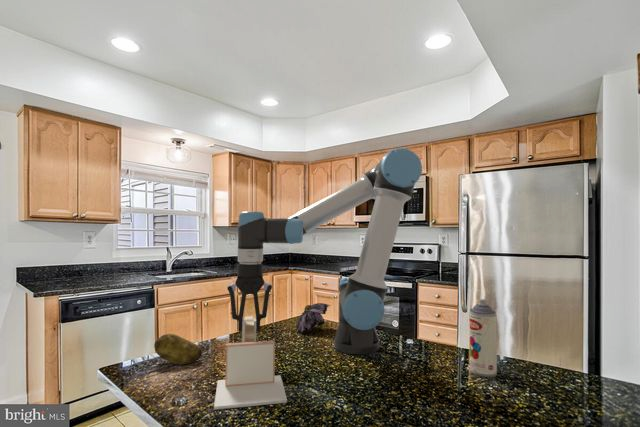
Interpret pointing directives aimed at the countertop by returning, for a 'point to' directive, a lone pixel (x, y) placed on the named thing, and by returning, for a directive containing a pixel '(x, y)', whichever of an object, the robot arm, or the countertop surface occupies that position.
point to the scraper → (249, 329)
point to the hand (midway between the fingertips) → (248, 342)
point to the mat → (249, 394)
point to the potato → (177, 349)
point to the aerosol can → (483, 340)
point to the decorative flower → (312, 317)
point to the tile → (250, 363)
